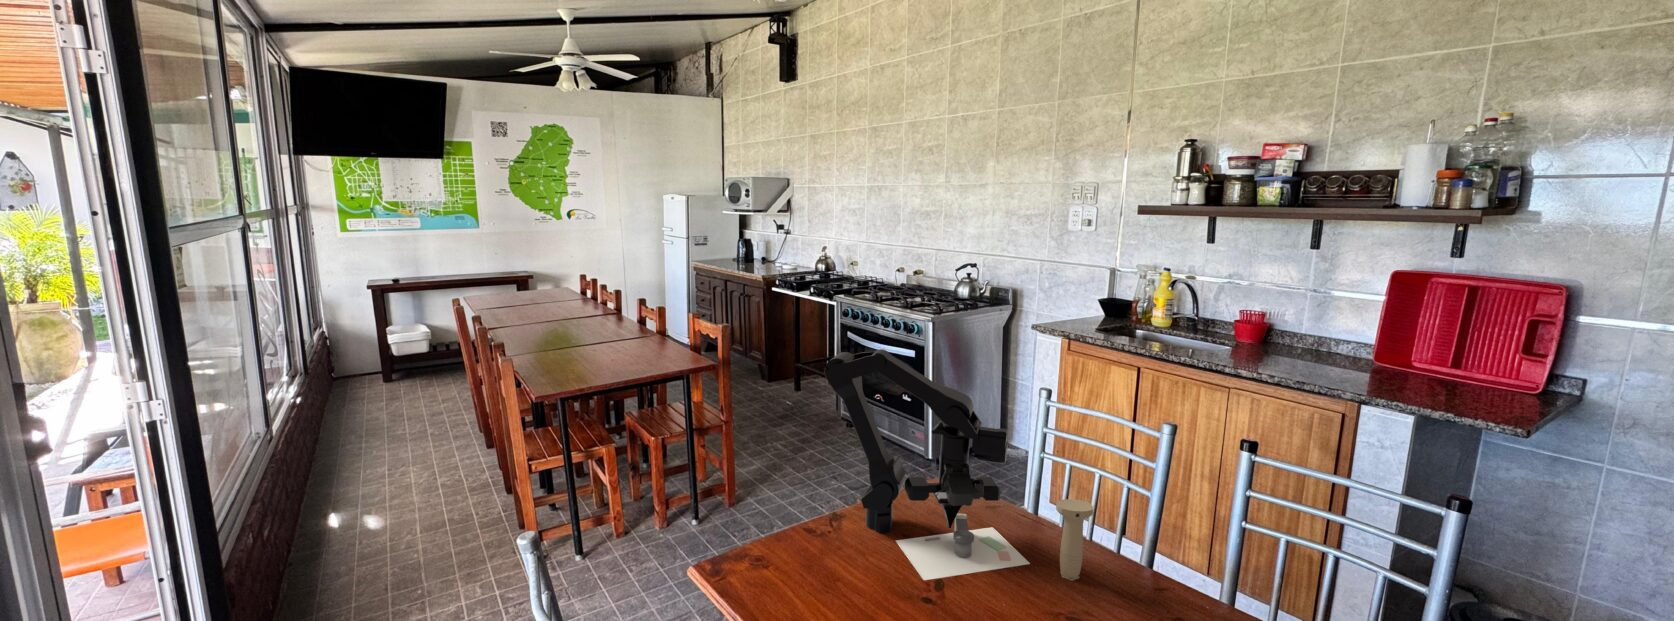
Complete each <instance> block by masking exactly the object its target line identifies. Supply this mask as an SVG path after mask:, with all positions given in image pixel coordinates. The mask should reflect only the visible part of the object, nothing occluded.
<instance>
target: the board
mask: <svg viewBox="0 0 1674 621" xmlns="http://www.w3.org/2000/svg"><path fill="white" fill-rule="evenodd" d="M969 531H970V532H972V533H973V534H974V541H973V542H972V551H971V556H969V557H960V556H958V555H956V554H955V540H954V539H953V535H954V532H948V533H942V534H941V533H940V534H934V535H928V536H927V535H926V536H920V537H913V538H905V539H898V540H895V542H896V544H897V545H898V546H899V548H900V550H901V551H902V552H903V554H904V556H906V557H907V559H908V560H909V562H910V564H911V565H912V566H913V568H914V569H915V570H916V572H917V573H918V575H919V576H920V578H921V579H922V580H923V581H928V580H937V579H943V578H949V577H955V576H961V575H966V574H974V573H981V572H988V571H995V570H1000V569H1006V568H1007V569H1008V568H1014V567H1019V566H1026V565H1031V563H1030V562H1029V561H1028V560H1027V559H1026V558H1025V557H1024V555H1022V554H1021V553H1020V552H1019V551H1018V550H1017V549H1016V548H1015V547H1013V546H1012V544H1010V542H1009V541H1007V540H1006V538H1004V537H1003V536H1002V535H1001V534H1000V532H998V531H997V530H996V529H995V528H994V527H992V526H991V527H984V528H977V529H969Z"/></svg>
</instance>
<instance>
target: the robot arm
mask: <svg viewBox="0 0 1674 621" xmlns="http://www.w3.org/2000/svg"><path fill="white" fill-rule="evenodd" d="M873 373H878V374H879V375H880V376H881V375H882V376H883V377H885V378H886V379H887V380H889V381H890V382H892V383H894V384H895V385H897V386H898V387H900V388H901V389H903V390H905V391H906V392H907V393H909V394H911V395H913V396H914V397H916V398H918V399H919V400H920V401H922V402H923V403H924V404H925V405H926V406H927V407H928V408H929V409H930V410H931V411H932V413H933V415H935V416H936V417H937V418H938V419H939V420H940V421H939V423H938V422H937V424H935V425H934V427H933V428H932V430H931V433H932V435H933V434H934V435H939V436H940V435H941V437H940V438H941V439H940V450H939V451H940V454H939V456H938V460H939V461H938V462H939V465H938V467H939V468H938V473H937V480H938V482H928V481H927V480H926V478H925V477H924V476H908V477H907V478H906V474H907V470H906V469H905V468H904V466H903V464H902V459H901V456H899V455H898V456H895V457H894V456H892V455H891V454H890V453H889V451H888V450H887V448H886V446H885V442H884V440H883V438H882V434H881V433H880V431H879V428H878V425H877V423H876V420H875V417H874V415H873V412H872V411H871V407H870V405H869V404H868V403H869V402H868V400H867V398H866V396H865V394H864V389H863V376H866V375H869V374H873ZM823 374H824V377H825V379H826V381H827V382H828V384H829V386H830V388H831V389H832V390H833V392H835V394H837V396H838V397H840V398H841V400H842V401H843V403H844V406H845V409H846V411H847V413H848V415H849V417H850V421H851V423H852V426H853V427H854V431H855V433H856V435H857V437H858V440H859V442H860V444H861V447H862V450H863V452H864V455H865V458H866V459H867V463H868V478H869V483H870V484H869V486H868V488H866V491H865V492H864V494H863V496H862V497H861V499H860V500H861V505H862V506H863V509H865V526H866V527H867V528H868V529H869V530H872V531H874V532H875V533H878V534H886V533H890V532H891V530H892V527H893V510H894V507H893V506H894V501H895V500H896V499H897V498H898V496H899V494H900V492H901V491H902V489H903V487H904V490H905V492H906V495H907V498H908V499H909V500H910V501H913V502H915V501H916V502H917V501H920V502H921V501H923V502H924V501H927V500H928V499H929V497H930V494H932V495H933V496H934V498H935V500H936V502H937V503H938V504H941V506H942V509H943V513H944V515H945V519H946V523H947V524H946V525H947V526H946V527H947V528H948V529H952V526H953V523H955V517H956V515H957V514H959V511H960V510H961V508H962V507H964V506H967V507H969V506H972V505H973V502H974V500H980V499H981V498H982V499H984V500H985V501H989V502H991V501H993V502H994V501H999V500H1001V488H1000V486H999V485H998V483H997V482H996V481H995V480H994V478H993V477H990V476H975V477H974V478H973V477H972V478H971V474H970V465H969V455H970V442H971V440H972V442H971V454H972V455H973V458H974V459H976V461H982V462H987V463H988V462H989V463H996V464H1003V465H1006V462H1007V455H1008V445H1009V442H1008V429H1007V428H994V427H985V426H982V423H983V422H982V421H981V419H980V417H979V416H978V415H977V413H976V412H975V411H974V404H973V400H972V399H971V397H969V395H967V394H965V393H964V392H962V391H958V390H957V389H955V388H951V387H947V386H944V385H941V384H938V383H936V382H934V381H933V380H931V379H930V378H928V377H927V376H925V375H923V373H922V374H921V373H920V372H918V371H917V370H915V369H914V368H912V367H911V366H909V365H908V364H907V363H904V362H903V361H901V360H900V359H898V358H897V357H895V356H893V354H891V353H890V352H889V351H887V350H886V349H882V348H880V349H877V350H874V351H864V352H863V351H862V352H859V353H850V352H847V351H844V352H839V353H837V355H835V356H834V357H833V358H831V359H830V360H828V362H827V363H825V367H824V369H823Z"/></svg>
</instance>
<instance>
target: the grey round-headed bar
mask: <svg viewBox="0 0 1674 621" xmlns="http://www.w3.org/2000/svg"><path fill="white" fill-rule="evenodd" d="M969 530H970V529H969V525H968V515H967V513H957V515H956V517H955V519H954V532H953V533H954V535H953V539H954V540H955V554H956V555H958V556H960V557H969V556H971V551H972V542H973V541H974V534H973V533H972V532H970V531H969Z"/></svg>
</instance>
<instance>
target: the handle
mask: <svg viewBox="0 0 1674 621" xmlns="http://www.w3.org/2000/svg"><path fill="white" fill-rule="evenodd" d="M1055 508H1056V511H1057V513H1058V514H1060V516H1063V527H1062V528H1063V529H1062V535H1061V543H1060V550H1059V568H1060V572H1059V573H1060V575H1061V578H1063V579H1067V580H1069V581H1075V580H1079V579H1080V573H1081V570H1082V566H1083V557H1084V556H1083V554H1084V537H1083V536H1084V521H1085V519H1086V518H1090V517H1092V516H1093V514H1094V506H1093V505H1092V504H1091V503H1090V502H1088V501H1085V500H1081V499H1073V498H1071V499H1070V498H1069V499H1068V498H1067V499H1066V498H1065V499H1059V500H1057V501H1056V507H1055Z"/></svg>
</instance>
